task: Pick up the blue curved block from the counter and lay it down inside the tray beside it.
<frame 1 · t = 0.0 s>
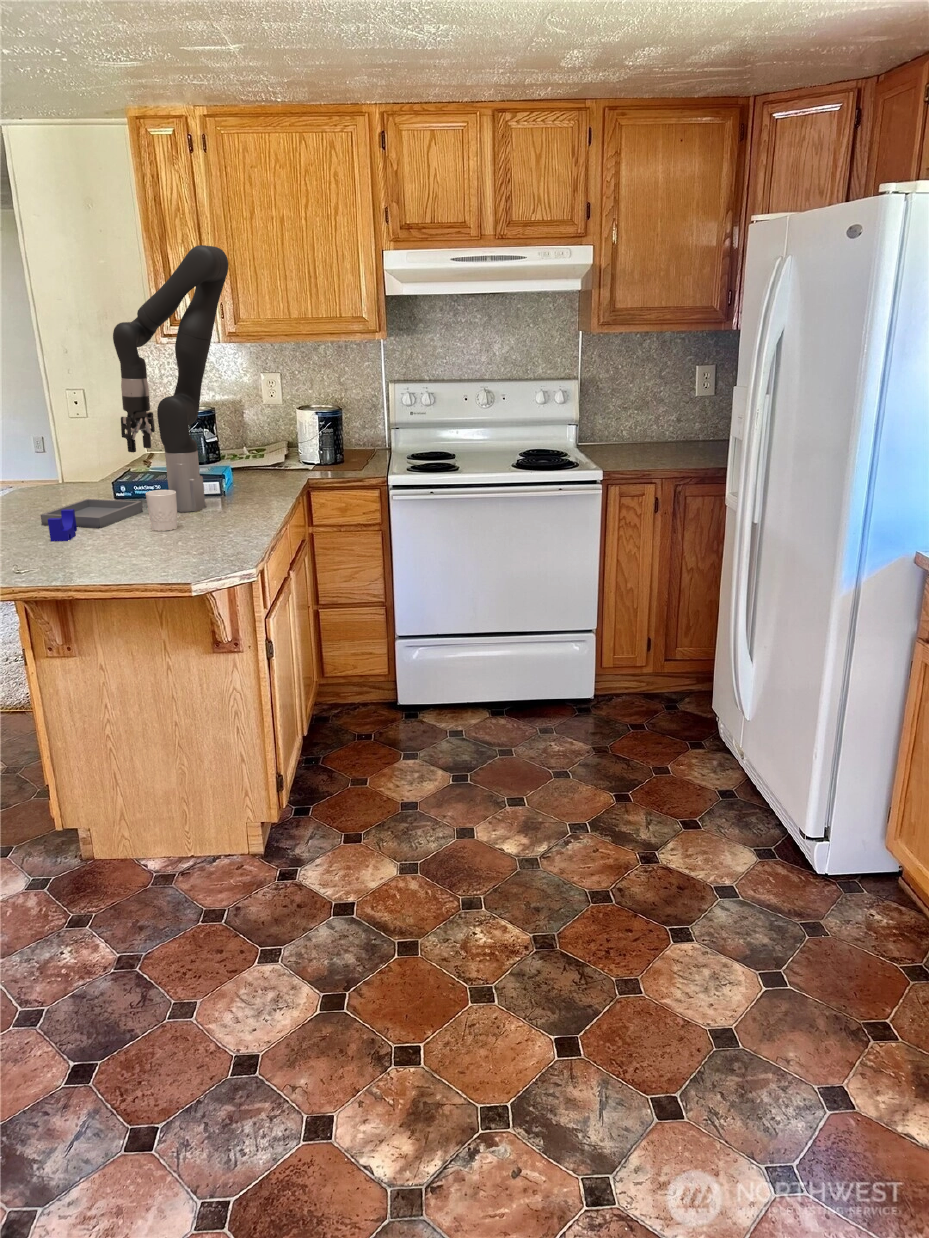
hand: (139, 450, 273), 17 cm above the table, tool pointing down, fingers open, 8 cm apart
tray: (94, 518, 264), on the table
blue curved block: (67, 537, 245), on the table
white cup: (164, 529, 253), on the table
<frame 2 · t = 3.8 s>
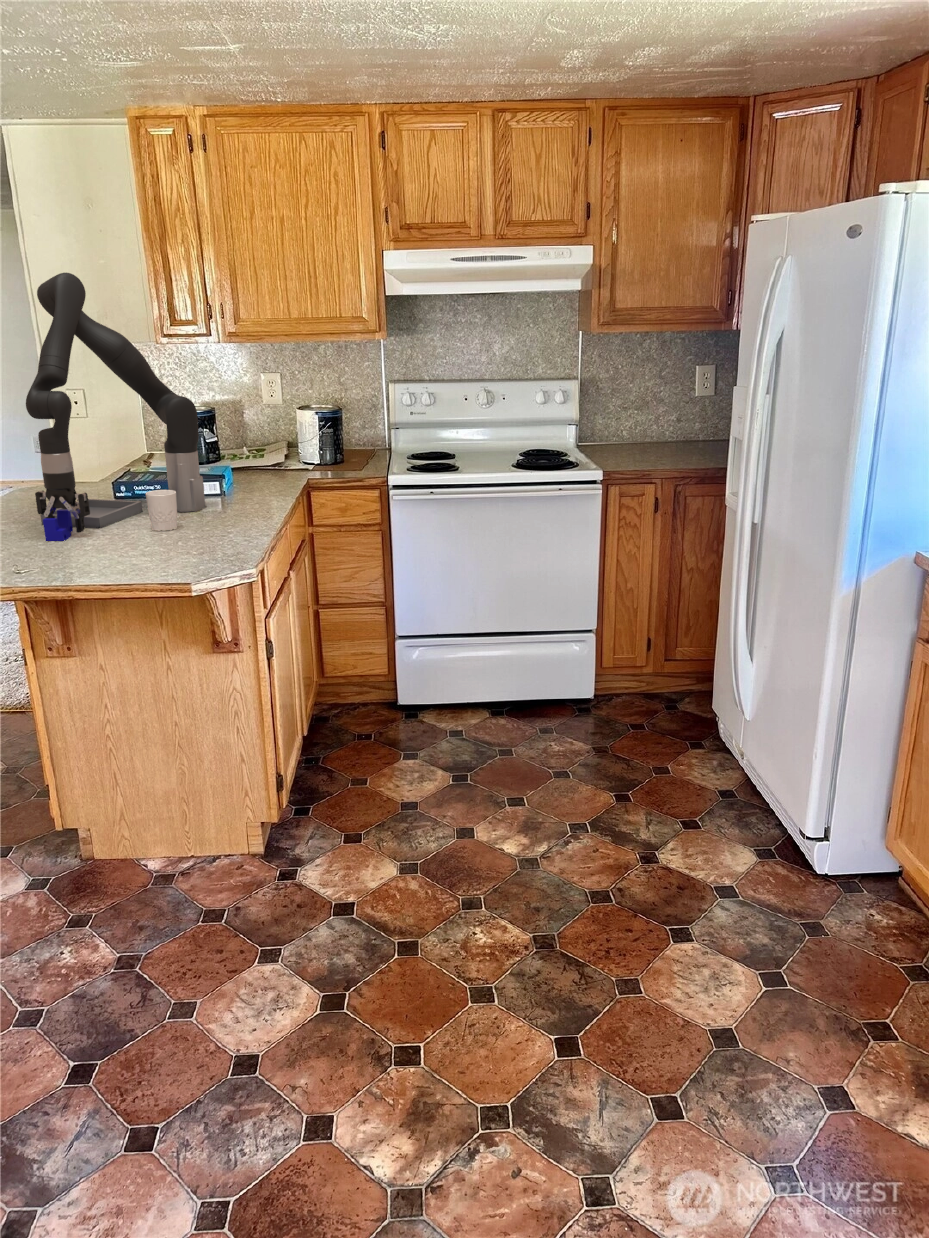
hand: (66, 531, 244), 1 cm above the table, tool pointing down, fingers open, 7 cm apart
blue curved block: (62, 537, 245), on the table, touching gripper
everything else where it was.
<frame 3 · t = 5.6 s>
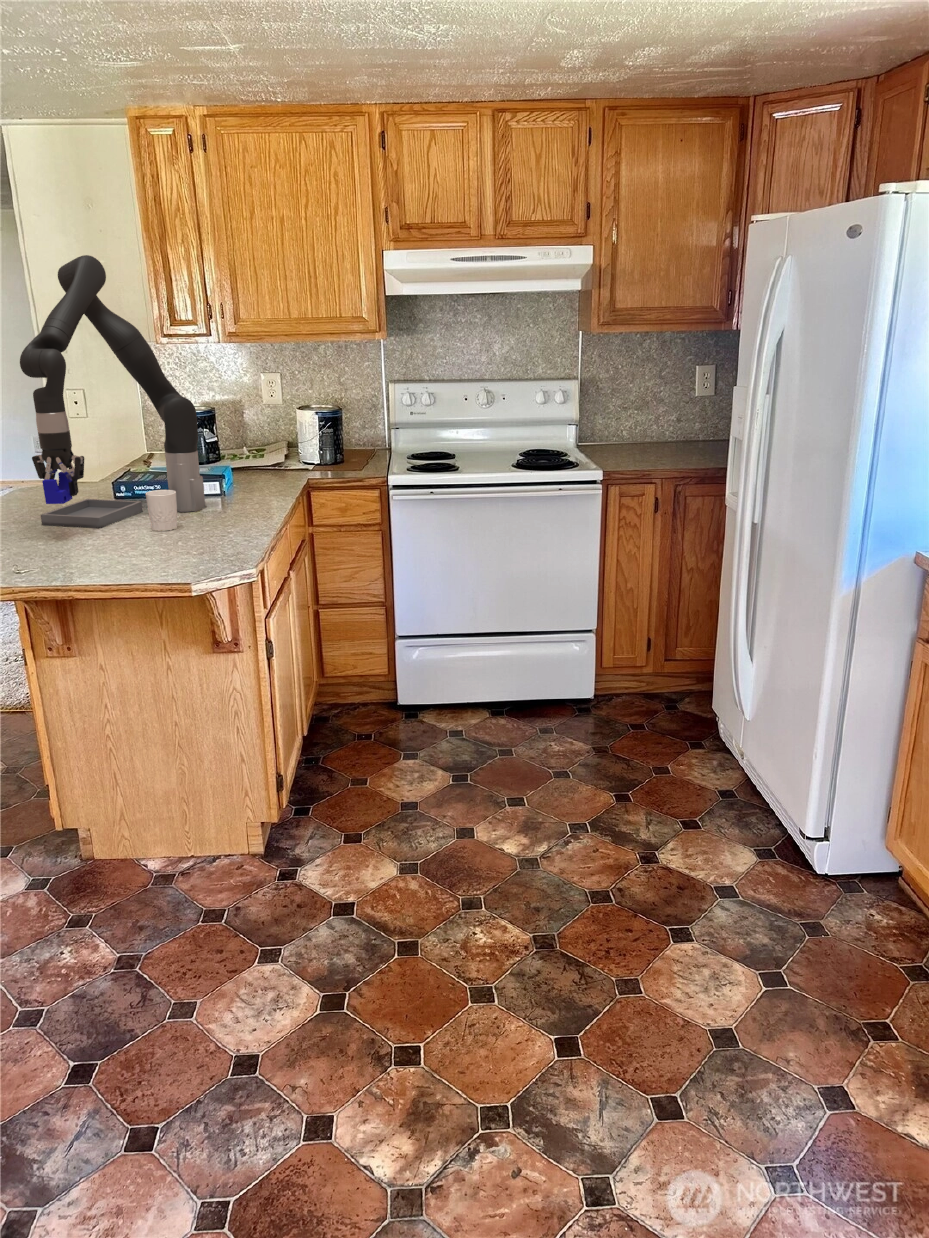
hand: (64, 495, 241), 11 cm above the table, tool pointing down, fingers closed on blue curved block, 5 cm apart
blue curved block: (64, 499, 241), point 10 cm above the table, touching gripper
everything else where it was.
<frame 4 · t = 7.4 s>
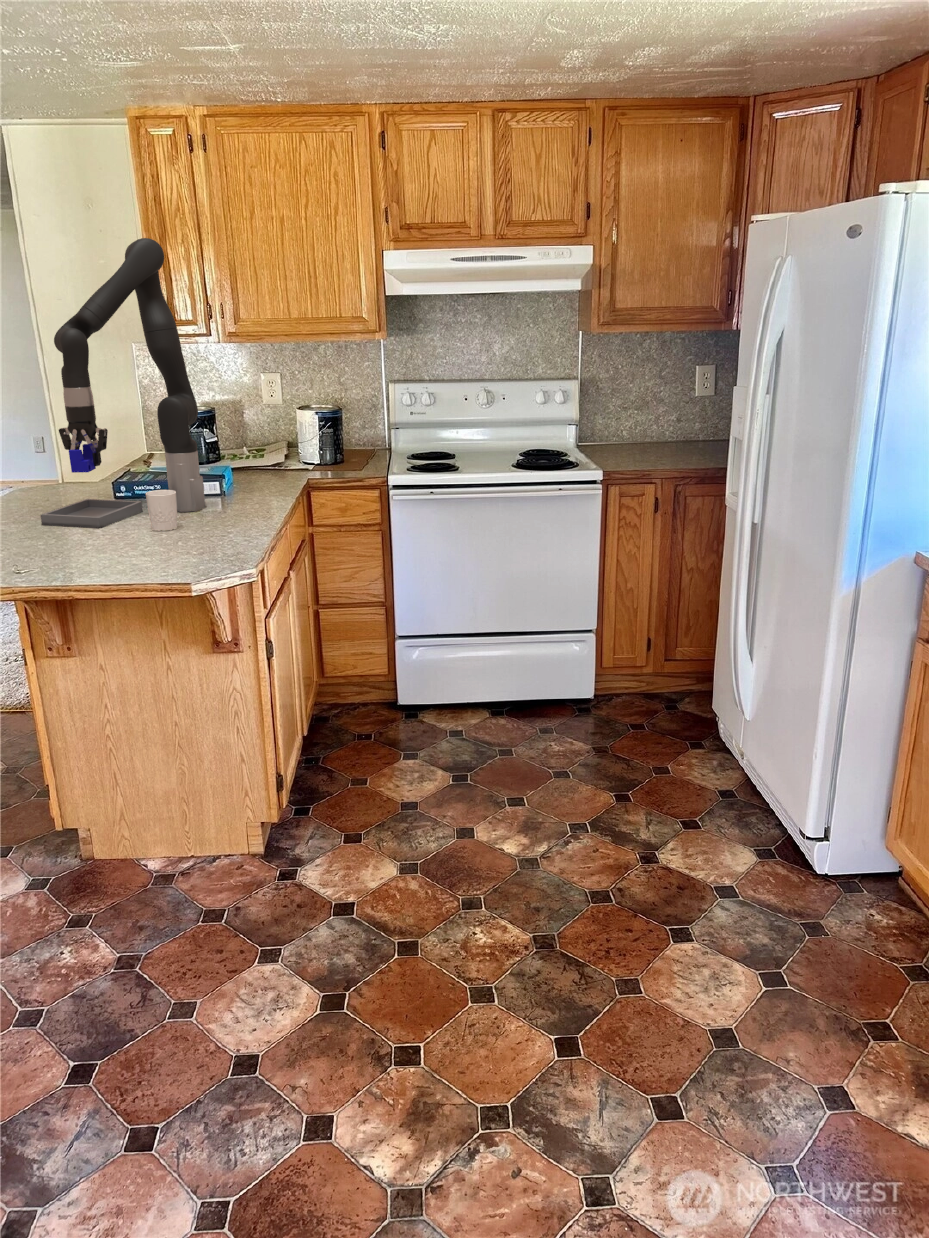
hand: (87, 465, 259), 15 cm above the table, tool pointing down, fingers closed on blue curved block, 5 cm apart
blue curved block: (87, 469, 259), point 14 cm above the table, touching gripper
everything else where it was.
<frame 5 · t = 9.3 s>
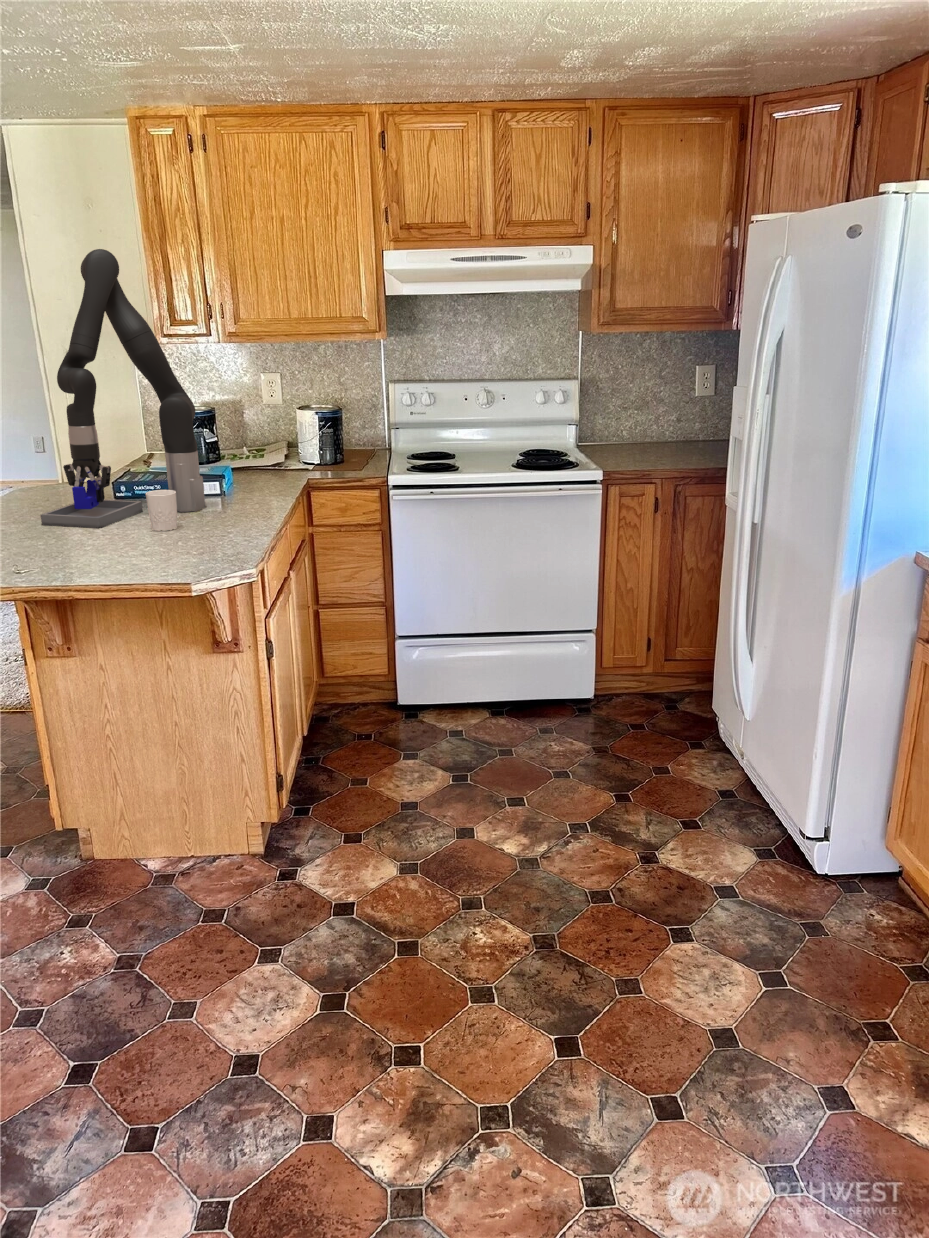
hand: (91, 501, 263), 5 cm above the table, tool pointing down, fingers closed on blue curved block, 5 cm apart
blue curved block: (91, 505, 263), point 4 cm above the table, touching gripper
everything else where it was.
when the fingers open (3 cm above the table, at t = 10.6 s): blue curved block drops 1 cm, resting on tray.
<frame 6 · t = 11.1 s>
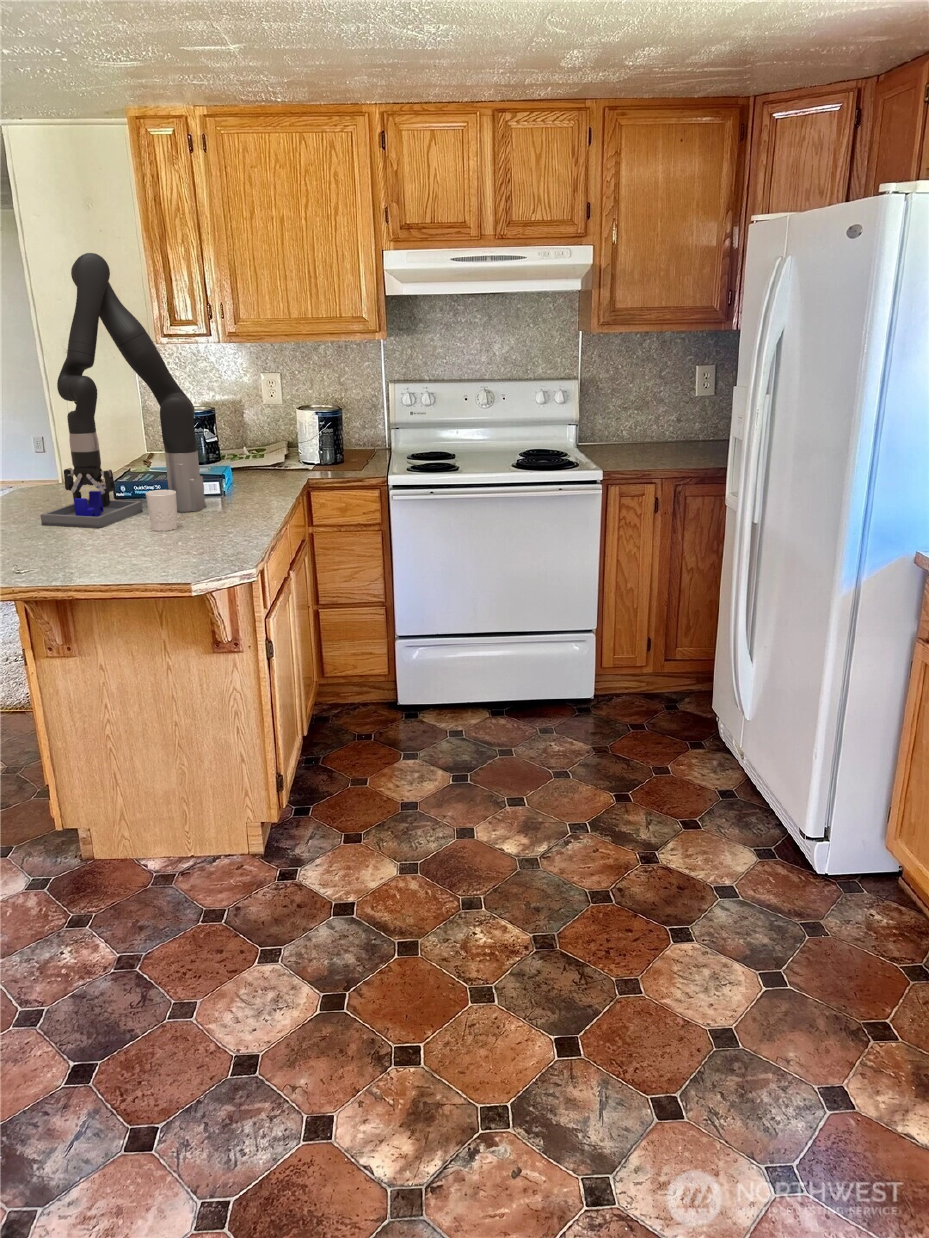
hand: (92, 505, 263), 4 cm above the table, tool pointing down, fingers open, 8 cm apart
blue curved block: (93, 516, 264), point 1 cm above the table, touching tray
everything else where it was.
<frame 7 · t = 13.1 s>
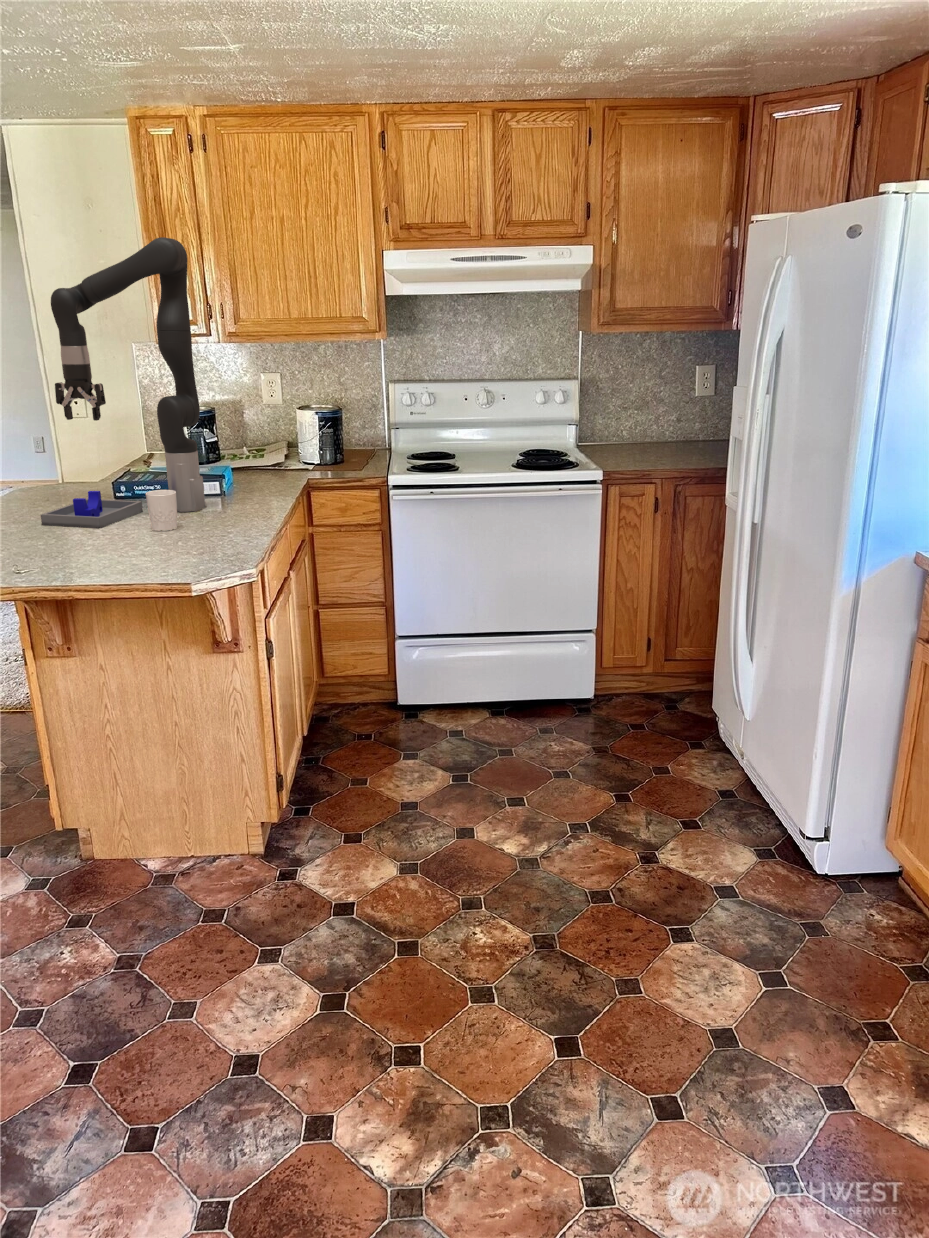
hand: (83, 419, 268), 26 cm above the table, tool pointing down, fingers open, 8 cm apart
nothing on the table moved.
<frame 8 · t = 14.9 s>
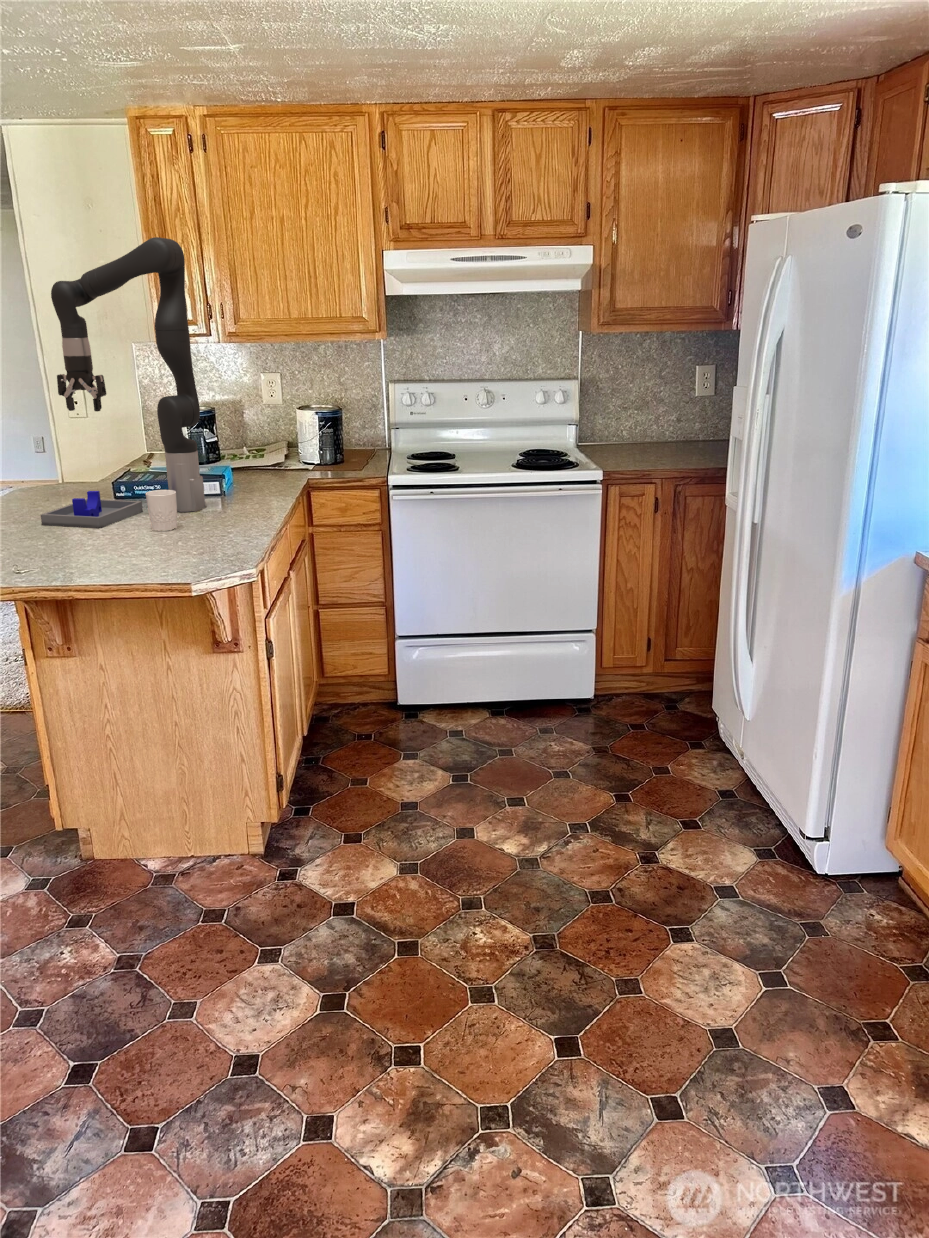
hand: (84, 411, 273), 28 cm above the table, tool pointing down, fingers open, 8 cm apart
nothing on the table moved.
at the end: blue curved block inside the target area on the tray (0.7 cm from its centre), point 0.6 cm above the tray's base; the gripper is holding nothing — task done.
